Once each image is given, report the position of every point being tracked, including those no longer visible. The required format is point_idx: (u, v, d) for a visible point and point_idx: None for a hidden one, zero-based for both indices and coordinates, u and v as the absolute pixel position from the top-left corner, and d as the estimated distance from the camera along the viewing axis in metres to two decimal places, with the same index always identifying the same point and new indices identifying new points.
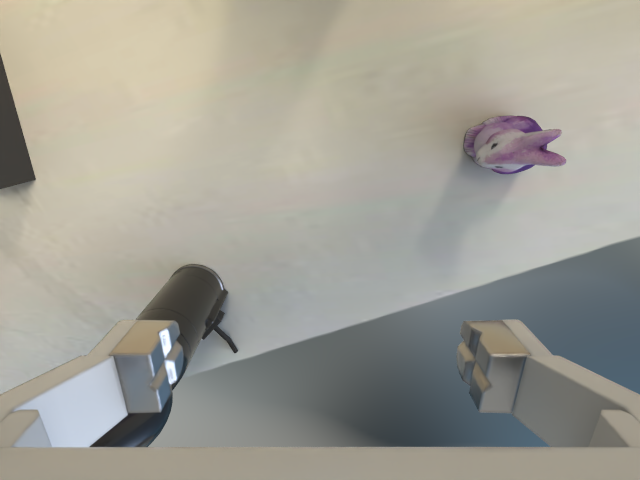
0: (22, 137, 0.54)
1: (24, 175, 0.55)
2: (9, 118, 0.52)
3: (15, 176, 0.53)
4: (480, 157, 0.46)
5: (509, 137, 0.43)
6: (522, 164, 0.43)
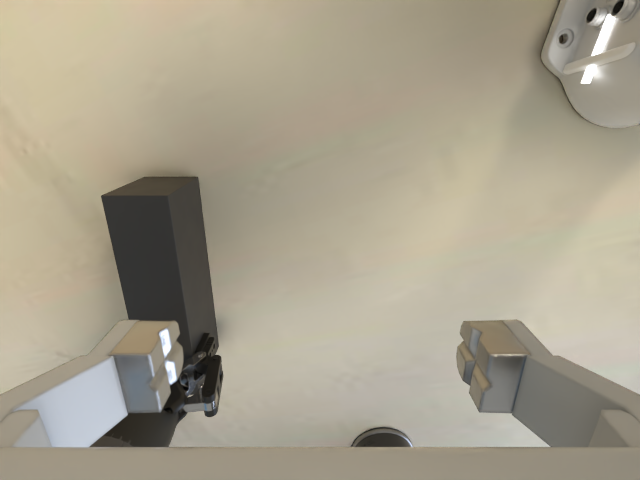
0: (213, 306, 0.46)
1: None
2: (207, 292, 0.44)
3: None
4: None
5: None
6: None
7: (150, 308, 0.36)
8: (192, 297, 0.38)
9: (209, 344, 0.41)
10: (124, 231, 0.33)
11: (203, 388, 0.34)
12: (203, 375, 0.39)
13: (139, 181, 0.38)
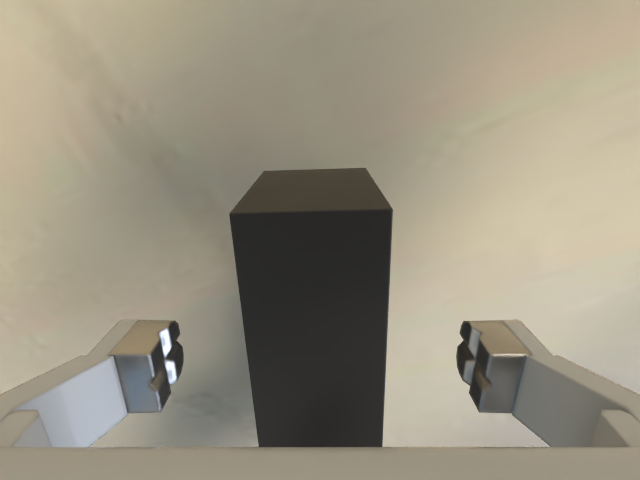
0: None
1: None
2: None
3: None
4: None
5: None
6: None
7: (309, 443, 0.17)
8: None
9: None
10: (275, 293, 0.14)
11: None
12: None
13: (268, 179, 0.19)
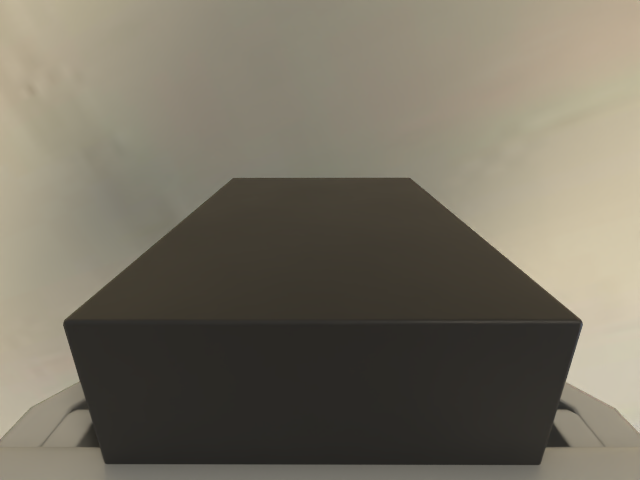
0: None
1: None
2: None
3: None
4: None
5: None
6: None
7: None
8: None
9: None
10: None
11: None
12: None
13: (234, 195, 0.10)
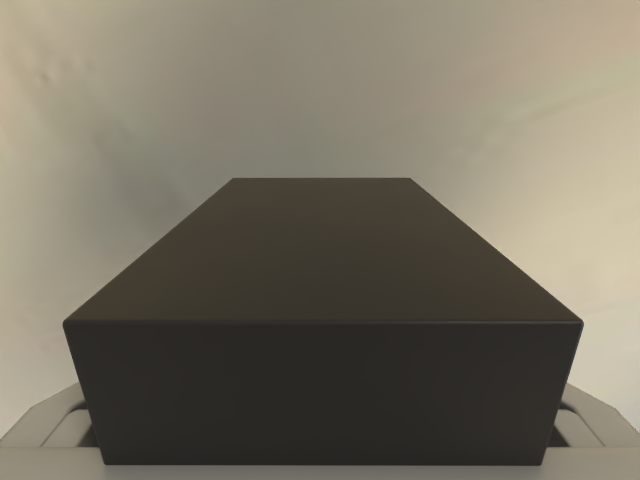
0: None
1: None
2: None
3: None
4: None
5: None
6: None
7: None
8: None
9: None
10: None
11: None
12: None
13: (233, 195, 0.10)
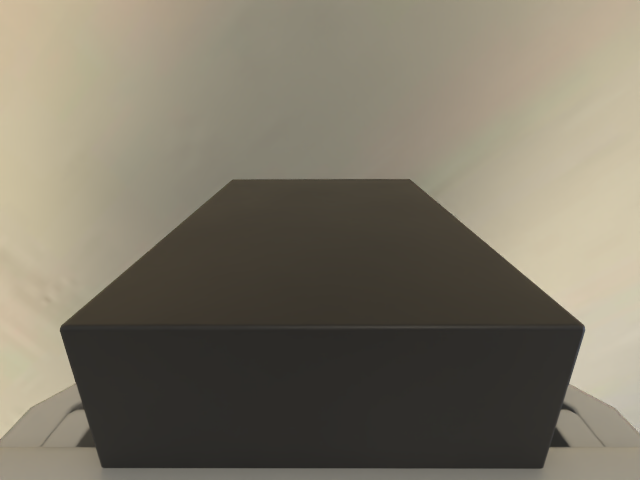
0: None
1: None
2: None
3: None
4: None
5: None
6: None
7: None
8: None
9: None
10: None
11: None
12: None
13: (233, 197, 0.10)
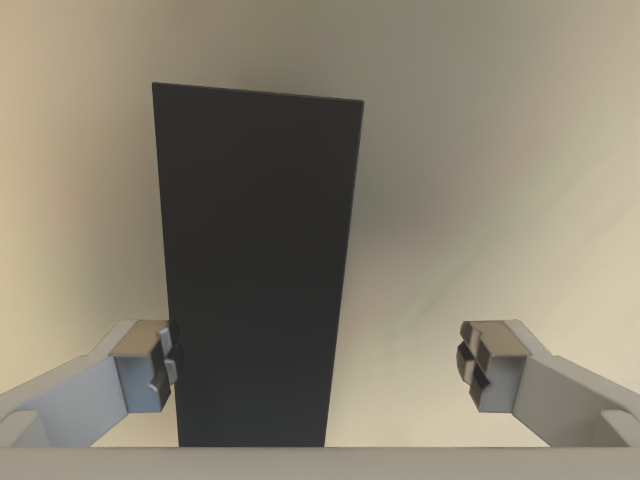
0: None
1: None
2: None
3: None
4: None
5: None
6: None
7: (238, 410, 0.14)
8: None
9: None
10: (206, 203, 0.11)
11: None
12: None
13: None
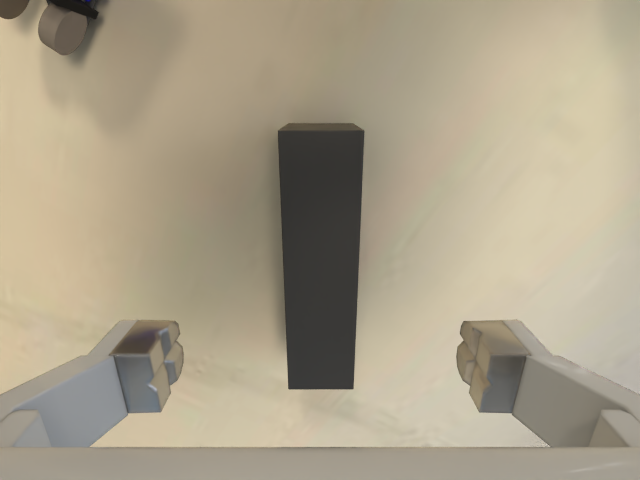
0: None
1: None
2: None
3: None
4: None
5: None
6: None
7: (314, 280, 0.29)
8: None
9: None
10: (299, 178, 0.26)
11: None
12: None
13: (292, 125, 0.31)
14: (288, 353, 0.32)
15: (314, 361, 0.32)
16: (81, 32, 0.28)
